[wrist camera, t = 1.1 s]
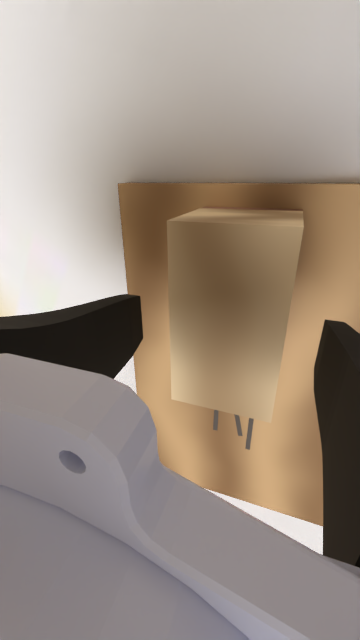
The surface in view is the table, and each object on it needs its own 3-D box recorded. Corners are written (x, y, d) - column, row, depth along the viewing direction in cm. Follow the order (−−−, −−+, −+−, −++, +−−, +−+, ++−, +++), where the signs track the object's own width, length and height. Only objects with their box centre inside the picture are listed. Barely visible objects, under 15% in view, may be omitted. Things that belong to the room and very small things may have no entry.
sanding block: (302, 209, 13) (303, 226, 9) (278, 360, 17) (270, 422, 13) (204, 206, 15) (166, 220, 11) (201, 346, 18) (171, 399, 14)
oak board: (428, 184, 13) (440, 185, 12) (322, 510, 22) (323, 526, 21) (128, 182, 17) (117, 183, 16) (149, 457, 27) (143, 468, 26)
